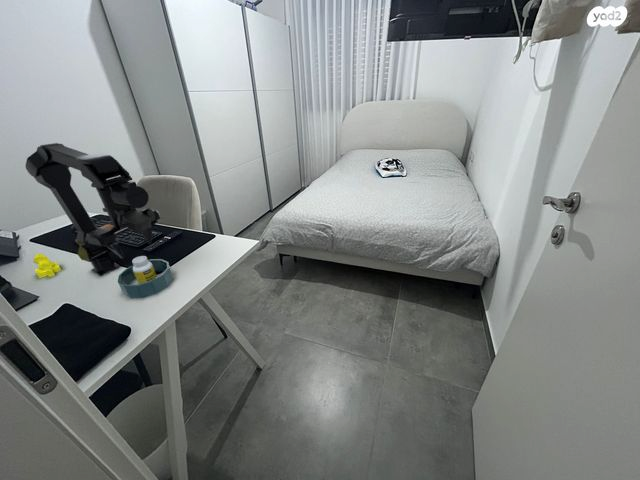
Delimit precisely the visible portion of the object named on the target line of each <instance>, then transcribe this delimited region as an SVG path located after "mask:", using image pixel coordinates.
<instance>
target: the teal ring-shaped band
mask: <svg viewBox="0 0 640 480" xmlns="http://www.w3.org/2000/svg"><path fill="white" fill-rule="evenodd" d="M148 261H149V262H151V263H152V265H153V268H154V270H155V273H161V274H160V275H157V277H156V278H155V279H153V280H151V281H148V282H144V283H141V284H139V283H137V284H132V283H133V282H134V281H135V280H136V281H137V279H136V276H135V274H134V272H133V266H134V265H133V264H132V265H130V266H128V267H127V268H125V269H124V270H123V271H122V272H121V273H120V274H118V278H117V283H118V285H119V287H120V289H121V291H122V293H123V295H125V297H127V298H129V299H145V298H148V297H151V296H154V295H158V294H159V293H161V292H163V290H165V289H167V288H168V287H169V286H170V285H171V284H172V282H173V281H174V279H175V278H174V274H173V271H172V267H171V265H170V262H169V261H167V260H164V259H162V258H154V259H148Z"/></svg>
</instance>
